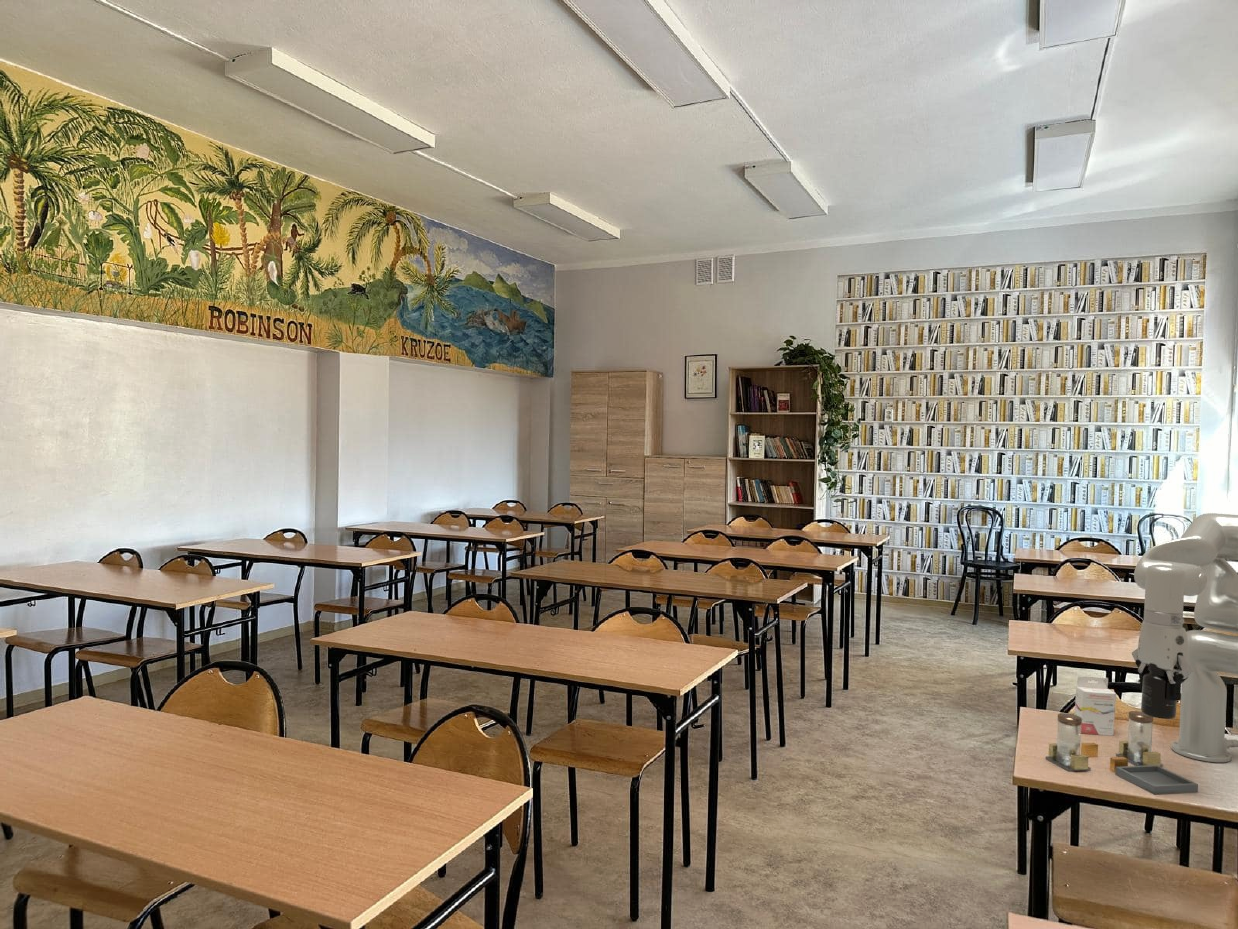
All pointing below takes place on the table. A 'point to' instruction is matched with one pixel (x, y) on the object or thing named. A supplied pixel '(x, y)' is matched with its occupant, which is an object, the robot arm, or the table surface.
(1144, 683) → the supplement bottle
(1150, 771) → the tray
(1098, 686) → the ink cartridge box
